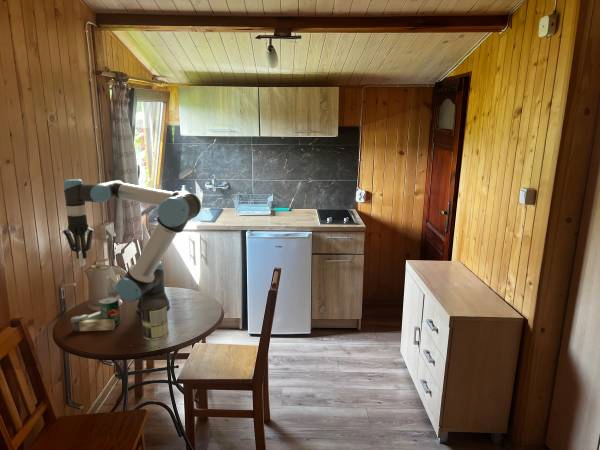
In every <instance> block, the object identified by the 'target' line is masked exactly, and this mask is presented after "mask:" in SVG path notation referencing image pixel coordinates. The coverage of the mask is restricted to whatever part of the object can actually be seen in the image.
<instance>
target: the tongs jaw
mask: <svg viewBox="0 0 600 450" xmlns="http://www.w3.org/2000/svg"><path fill="white" fill-rule="evenodd" d="M99 319H101V314H100V310H99V311H96V312H93V313H91V314H85V313H84V314H82V315H75V316H73V317H70V322H71V324H72V323H77V322H80V321H81V320H99Z"/></svg>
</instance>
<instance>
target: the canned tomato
mask: <svg viewBox="0 0 600 450" xmlns="http://www.w3.org/2000/svg"><path fill="white" fill-rule="evenodd" d="M98 303H99V311H100V314H101V319H114V320H115V326H117V325H119V324H120V323H121V322H122V320H121V314H120V302H119V298H118V297H117V296H106V297H103V298H101V299H99V300H98Z"/></svg>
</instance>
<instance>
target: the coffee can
mask: <svg viewBox="0 0 600 450" xmlns="http://www.w3.org/2000/svg"><path fill="white" fill-rule="evenodd" d="M166 304H167V302H166V301H165V300H163V299H151V300H147V301H144V302H143V303H141V305H140V306H141V313H140V314H141V323H142V336H143V338H144V339H145V340H148V341H157V340H158V341H159V340H162V339H164V338H165V337H167V336H168V335H169V322H168V311H167V310H168V309H167V307H166Z"/></svg>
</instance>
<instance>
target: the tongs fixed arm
mask: <svg viewBox="0 0 600 450" xmlns="http://www.w3.org/2000/svg"><path fill="white" fill-rule="evenodd" d="M71 324H72V331H73V332H74V331H75V332H77V331H78V332H93V331H114V330H115V328H116V325H115V320H114V319H99V320H81V321H80V322H77V323H72V322H71Z"/></svg>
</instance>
